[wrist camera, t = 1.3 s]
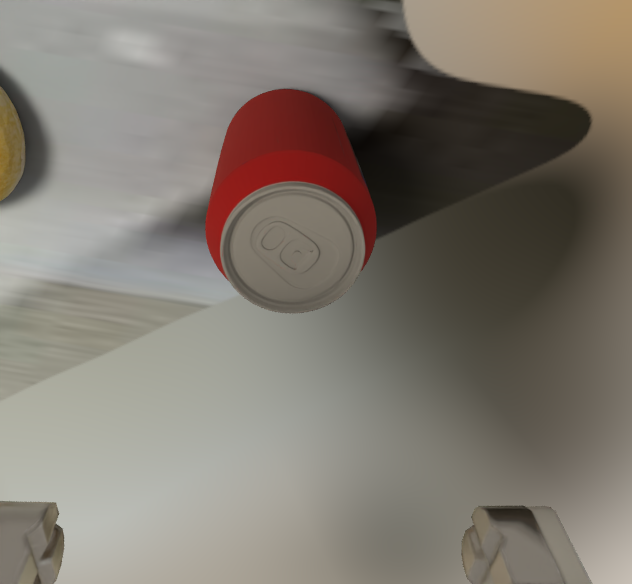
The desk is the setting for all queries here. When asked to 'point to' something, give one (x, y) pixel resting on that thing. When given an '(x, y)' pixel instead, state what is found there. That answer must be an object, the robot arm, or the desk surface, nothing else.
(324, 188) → the beverage can
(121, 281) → the desk surface
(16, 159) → the bread roll
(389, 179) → the desk surface
